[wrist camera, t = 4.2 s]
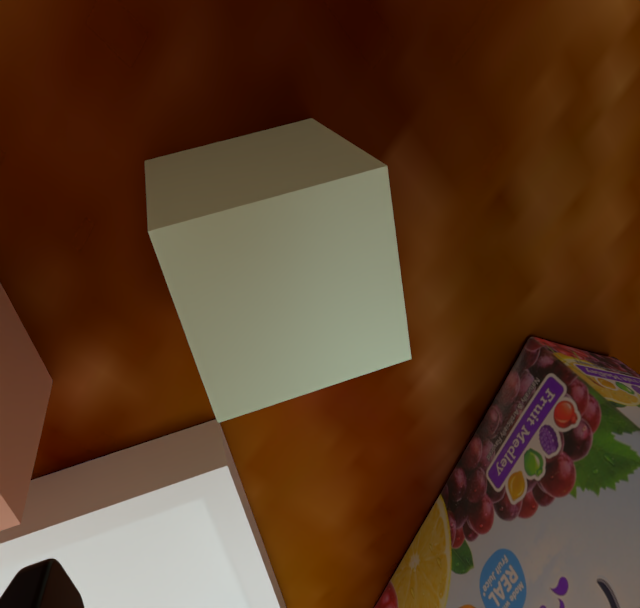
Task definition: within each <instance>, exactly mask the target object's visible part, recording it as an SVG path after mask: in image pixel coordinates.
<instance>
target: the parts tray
mask: <svg viewBox="0 0 640 608" xmlns="http://www.w3.org/2000/svg"><path fill="white" fill-rule="evenodd" d="M50 558H53V559H56V560H57V561H58V562H59V563H60V564H61V565H62V567H63V568H64V570H65V571H66V573H67V574H68V576H69V577H70V579H71V580H72V582H73V583H74V585H75V587H76V588H77V590H78V591H79V593H80V595H81V597H82V600H83V603H84V608H286V605H285V602H284V599H283V596H282V594H281V591H280V588H279V585H278V583H277V580H276V577H275V574H274V572H273V569H272V566H271V563H270V560H269V558H268V555H267V552H266V549H265V547H264V544H263V541H262V538H261V536H260V533H259V530H258V527H257V524H256V522H255V519H254V516H253V513H252V511H251V508H250V505H249V502H248V500H247V497H246V494H245V491H244V488H243V486H242V483H241V480H240V477H239V475H238V472H237V469H236V466H235V464H234V461H233V458H232V455H231V452H230V450H229V447H228V444H227V441H226V439H225V436H224V433H223V430H222V428H221V425H220V423H217V420H216V419H215V420H212V421H209V422H206V423H203V424H200V425H197V426H194V427H191V428H187V429H184V430H181V431H178V432H175V433H172V434H169V435H166V436H163V437H160V438H157V439H154V440H151V441H148V442H145V443H142V444H139V445H136V446H133V447H130V448H127V449H124V450H121V451H118V452H115V453H112V454H109V455H106V456H103V457H100V458H97V459H94V460H91V461H88V462H85V463H82V464H79V465H76V466H73V467H70V468H67V469H64V470H61V471H58V472H55V473H51V474H48V475H45V476H42V477H39V478H36V479H33V480H31V481H30V486H29V490H28V494H27V499H26V503H25V508H24V512H23V517H22V521H21V524H19V525H16V526H14V527H11V528H8V529H5V530H2V531H0V597H1V596H2V594H3V593H4V591H5V590H6V588H7V587H8V585H9V584H10V582H11V581H12V579H13V578H14V576H15V575H16V574H17V573H18V572H19V571H20V570H21V569H22V568H24V567H26V566H29V565H32V564H34V563H37V562H40V561H43V560H46V559H50Z"/></svg>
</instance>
